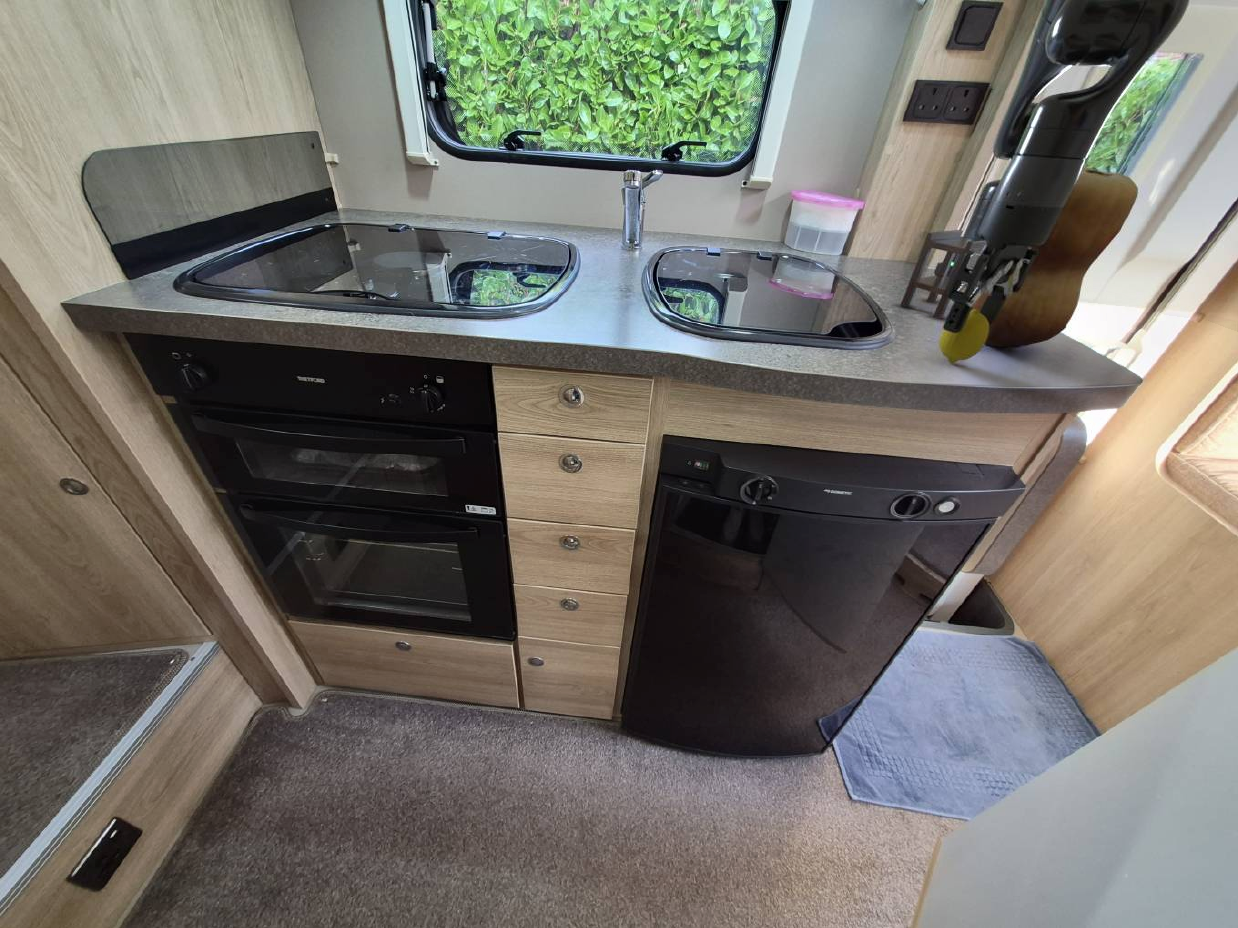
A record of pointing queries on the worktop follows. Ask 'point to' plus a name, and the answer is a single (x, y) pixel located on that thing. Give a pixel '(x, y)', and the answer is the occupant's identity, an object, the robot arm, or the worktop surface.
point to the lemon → (965, 338)
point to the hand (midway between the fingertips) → (967, 327)
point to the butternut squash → (1064, 260)
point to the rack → (940, 283)
